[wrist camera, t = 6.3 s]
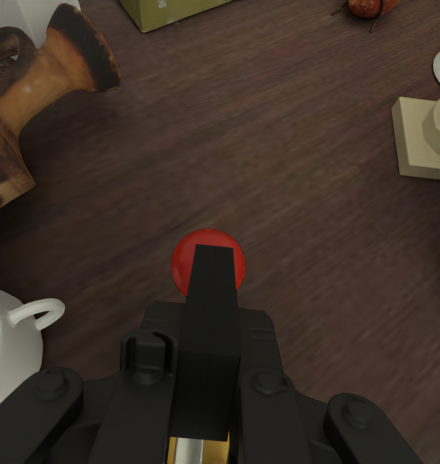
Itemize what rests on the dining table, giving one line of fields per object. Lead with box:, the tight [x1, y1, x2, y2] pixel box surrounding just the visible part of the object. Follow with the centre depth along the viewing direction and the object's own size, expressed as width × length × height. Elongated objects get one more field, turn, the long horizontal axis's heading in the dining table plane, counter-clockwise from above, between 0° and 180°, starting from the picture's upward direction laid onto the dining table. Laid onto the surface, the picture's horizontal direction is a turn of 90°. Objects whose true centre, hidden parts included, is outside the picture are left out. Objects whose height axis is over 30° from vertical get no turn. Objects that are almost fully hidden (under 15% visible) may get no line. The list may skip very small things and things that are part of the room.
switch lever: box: [171, 229, 246, 464], centre depth 16 cm, size 14×3×3 cm, turn 175°
